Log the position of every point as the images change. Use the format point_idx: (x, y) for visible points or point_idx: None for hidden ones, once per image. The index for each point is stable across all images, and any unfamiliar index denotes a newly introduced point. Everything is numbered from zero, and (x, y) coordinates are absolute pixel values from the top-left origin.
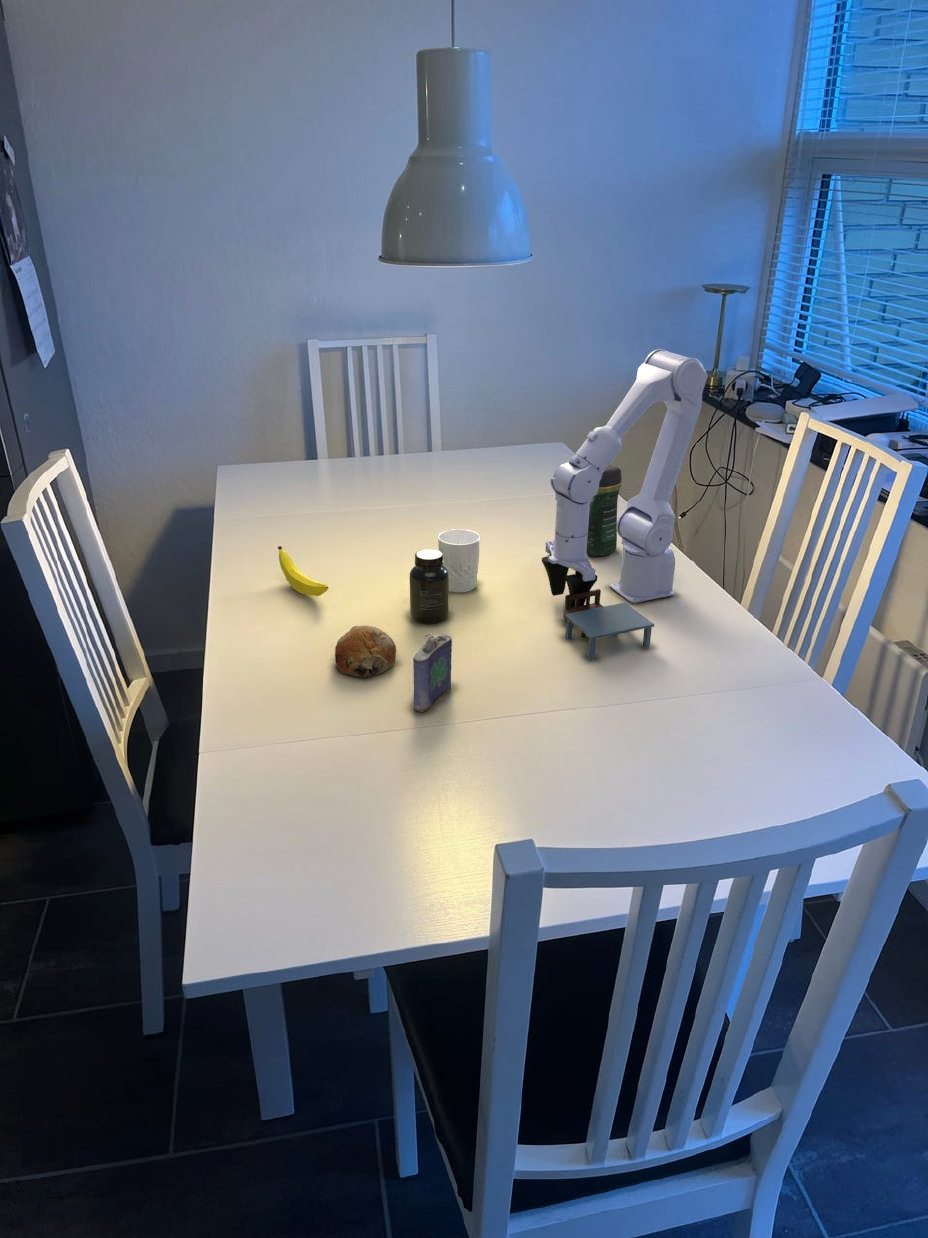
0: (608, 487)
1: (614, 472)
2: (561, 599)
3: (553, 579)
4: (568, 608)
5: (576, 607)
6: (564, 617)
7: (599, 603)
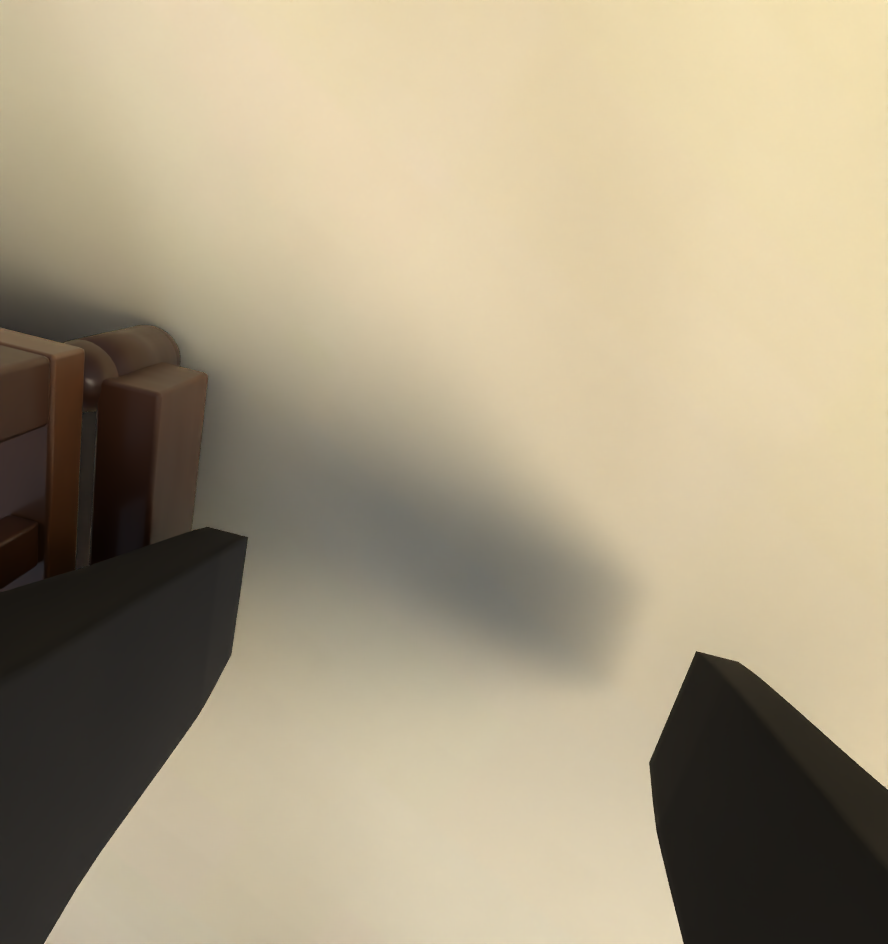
0: None
1: None
2: None
3: (810, 847)
4: None
5: (8, 525)
6: (176, 367)
7: None
